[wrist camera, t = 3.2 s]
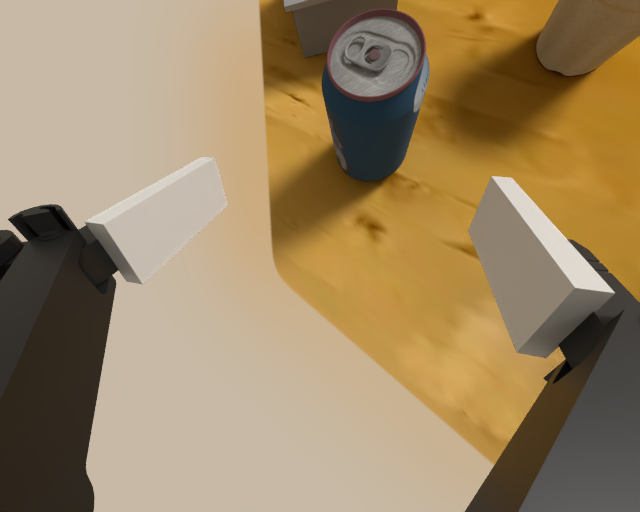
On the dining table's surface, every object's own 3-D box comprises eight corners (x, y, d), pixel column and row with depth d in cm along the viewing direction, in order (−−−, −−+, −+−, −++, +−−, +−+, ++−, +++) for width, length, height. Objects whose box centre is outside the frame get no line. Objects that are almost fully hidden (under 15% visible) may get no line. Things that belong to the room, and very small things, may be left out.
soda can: (418, 141, 26) (462, 21, 14) (381, 198, 26) (394, 127, 14) (360, 113, 27) (356, -17, 15) (325, 167, 27) (295, 79, 15)
